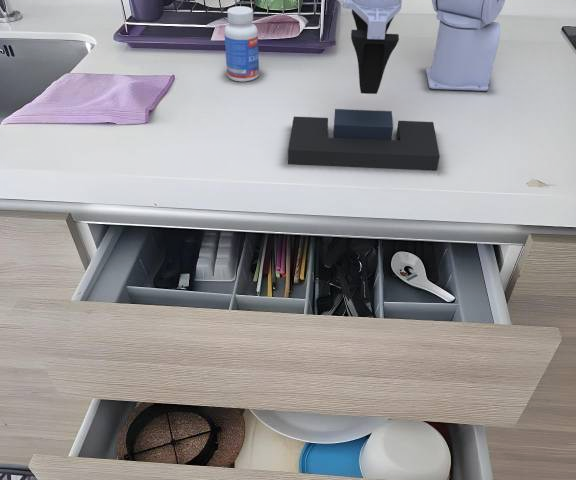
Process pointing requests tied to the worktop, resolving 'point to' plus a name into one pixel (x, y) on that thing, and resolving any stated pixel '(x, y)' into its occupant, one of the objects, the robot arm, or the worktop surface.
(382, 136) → the dark blue block
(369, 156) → the black u-shaped block
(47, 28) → the worktop surface
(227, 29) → the pill bottle
